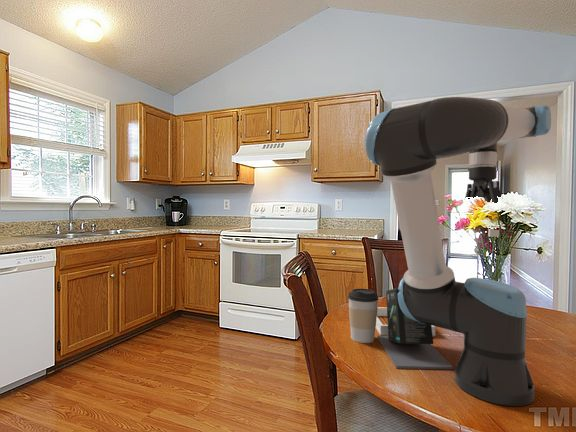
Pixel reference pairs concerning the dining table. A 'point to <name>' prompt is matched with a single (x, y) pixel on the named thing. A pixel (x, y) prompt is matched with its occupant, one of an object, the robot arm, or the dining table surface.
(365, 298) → the coffee cup
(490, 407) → the dining table surface
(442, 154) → the robot arm
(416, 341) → the tampon box
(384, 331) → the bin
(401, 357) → the thin grey tile
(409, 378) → the dining table surface
